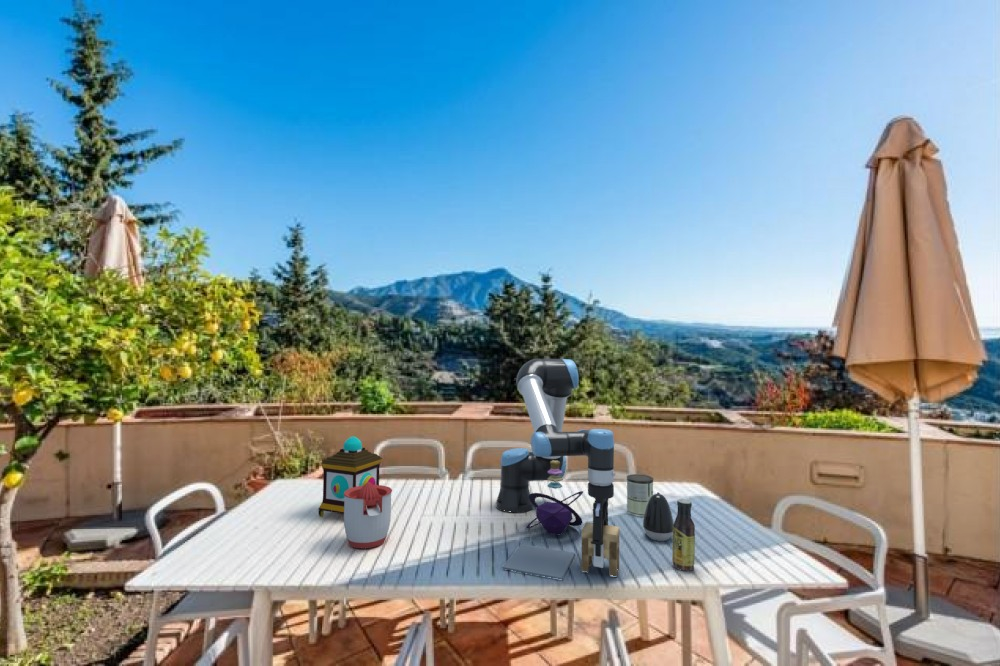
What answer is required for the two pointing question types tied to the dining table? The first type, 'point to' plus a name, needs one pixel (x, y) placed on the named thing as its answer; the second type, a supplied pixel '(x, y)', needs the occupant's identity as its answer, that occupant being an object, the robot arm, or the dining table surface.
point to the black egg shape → (658, 518)
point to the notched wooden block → (609, 547)
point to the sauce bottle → (683, 537)
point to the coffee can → (638, 493)
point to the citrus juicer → (367, 515)
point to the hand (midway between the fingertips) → (600, 560)
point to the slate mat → (540, 561)
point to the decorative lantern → (347, 474)
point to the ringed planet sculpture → (554, 507)
